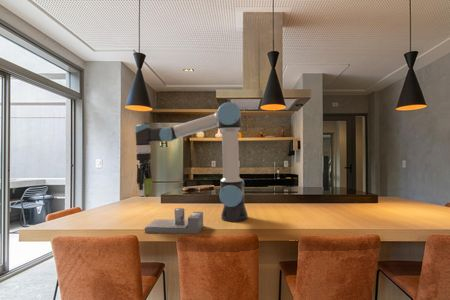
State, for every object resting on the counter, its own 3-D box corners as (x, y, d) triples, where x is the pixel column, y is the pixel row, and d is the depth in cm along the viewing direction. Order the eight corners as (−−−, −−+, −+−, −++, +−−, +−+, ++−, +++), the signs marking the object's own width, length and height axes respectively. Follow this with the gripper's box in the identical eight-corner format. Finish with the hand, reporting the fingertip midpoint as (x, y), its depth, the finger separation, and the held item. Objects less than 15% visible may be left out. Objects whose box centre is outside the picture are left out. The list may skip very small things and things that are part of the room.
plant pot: (151, 195, 167) (151, 179, 166) (134, 196, 167) (133, 180, 166) (156, 192, 176) (155, 177, 176) (139, 193, 176) (138, 178, 176)
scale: (203, 226, 165) (202, 210, 165) (198, 233, 152) (197, 217, 152) (154, 225, 168) (153, 210, 168) (145, 232, 156) (144, 216, 155)
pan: (191, 221, 165) (191, 219, 165) (186, 227, 153) (186, 226, 153) (155, 220, 168) (155, 219, 168) (147, 227, 156) (147, 225, 156)
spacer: (181, 220, 163) (181, 207, 163) (186, 223, 159) (186, 209, 159) (173, 222, 160) (172, 209, 160) (177, 224, 156) (177, 210, 156)
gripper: (144, 152, 181) (145, 190, 182) (128, 154, 161) (130, 197, 162) (156, 151, 180) (158, 190, 181) (142, 153, 160) (144, 197, 161)
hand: (145, 194), depth 171 cm, fingers closed on plant pot, 8 cm apart
